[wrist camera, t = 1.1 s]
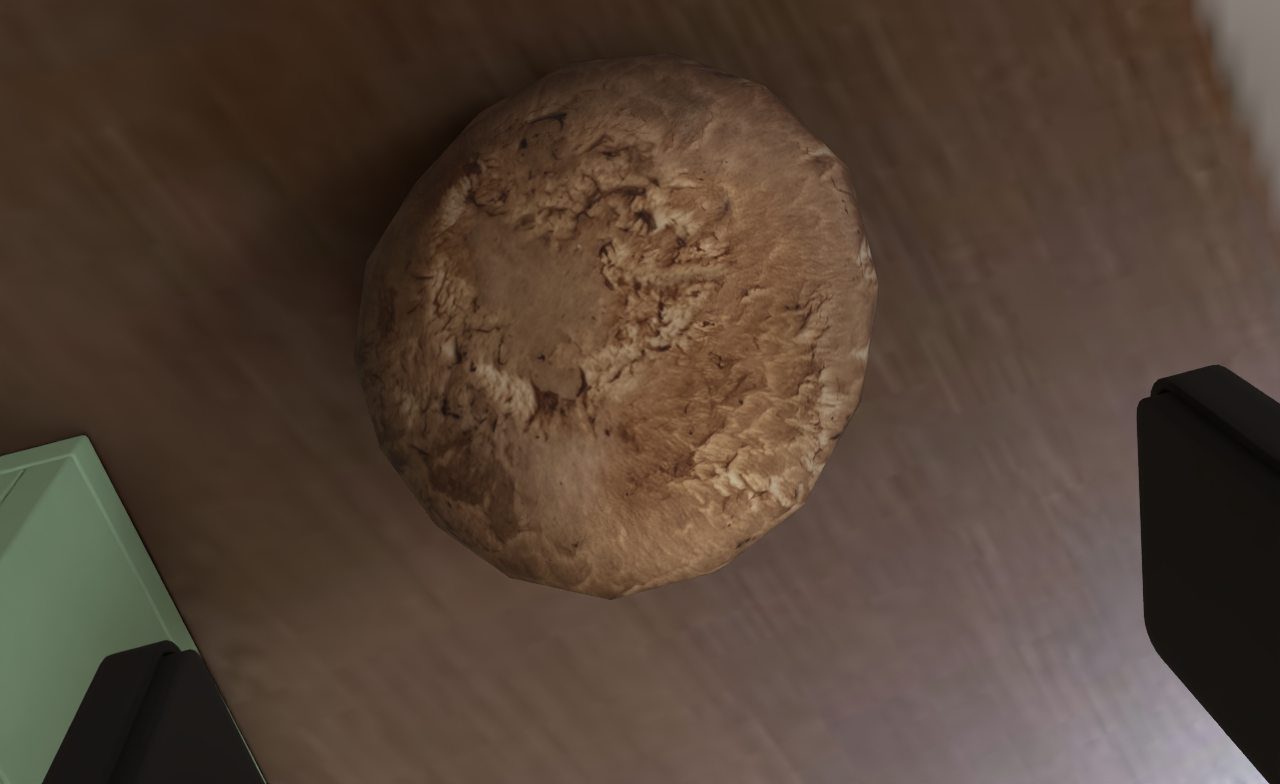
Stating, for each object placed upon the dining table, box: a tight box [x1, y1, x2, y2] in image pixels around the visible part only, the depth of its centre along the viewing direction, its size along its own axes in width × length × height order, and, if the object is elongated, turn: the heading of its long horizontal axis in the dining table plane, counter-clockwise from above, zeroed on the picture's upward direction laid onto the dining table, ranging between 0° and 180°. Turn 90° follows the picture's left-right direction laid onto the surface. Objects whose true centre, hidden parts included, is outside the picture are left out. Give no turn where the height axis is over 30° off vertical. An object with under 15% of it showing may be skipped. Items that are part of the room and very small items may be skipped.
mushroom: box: [354, 53, 879, 600], centre depth 17 cm, size 8×8×6 cm
